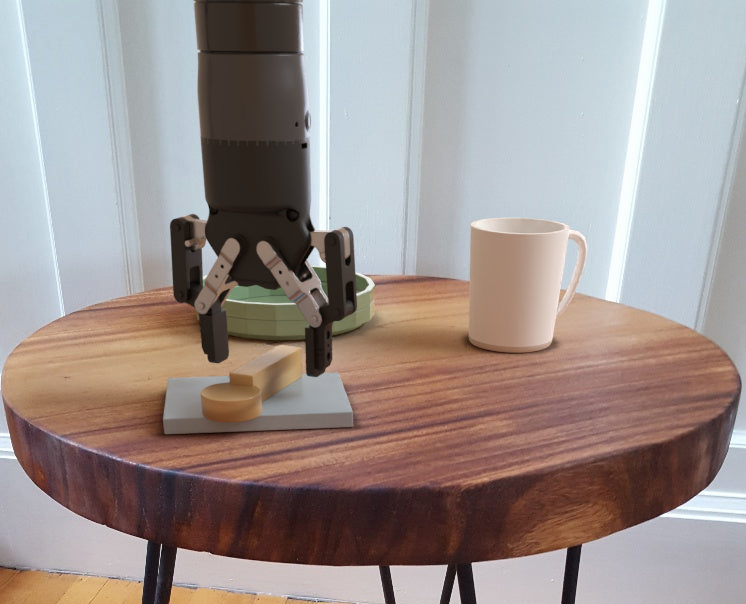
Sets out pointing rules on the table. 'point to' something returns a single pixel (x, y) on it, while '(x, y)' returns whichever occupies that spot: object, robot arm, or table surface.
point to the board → (279, 412)
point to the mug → (519, 281)
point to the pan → (287, 311)
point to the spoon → (252, 385)
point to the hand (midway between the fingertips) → (267, 367)
